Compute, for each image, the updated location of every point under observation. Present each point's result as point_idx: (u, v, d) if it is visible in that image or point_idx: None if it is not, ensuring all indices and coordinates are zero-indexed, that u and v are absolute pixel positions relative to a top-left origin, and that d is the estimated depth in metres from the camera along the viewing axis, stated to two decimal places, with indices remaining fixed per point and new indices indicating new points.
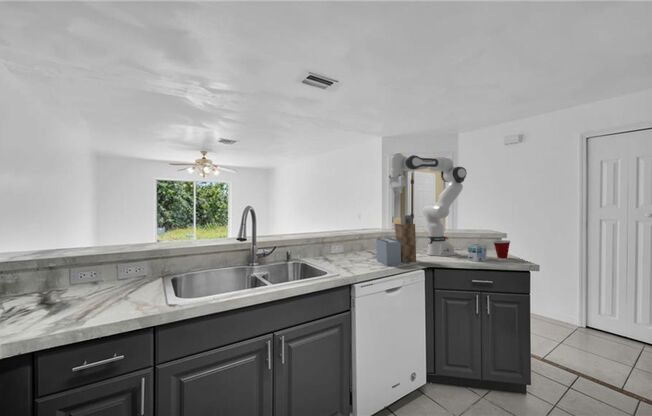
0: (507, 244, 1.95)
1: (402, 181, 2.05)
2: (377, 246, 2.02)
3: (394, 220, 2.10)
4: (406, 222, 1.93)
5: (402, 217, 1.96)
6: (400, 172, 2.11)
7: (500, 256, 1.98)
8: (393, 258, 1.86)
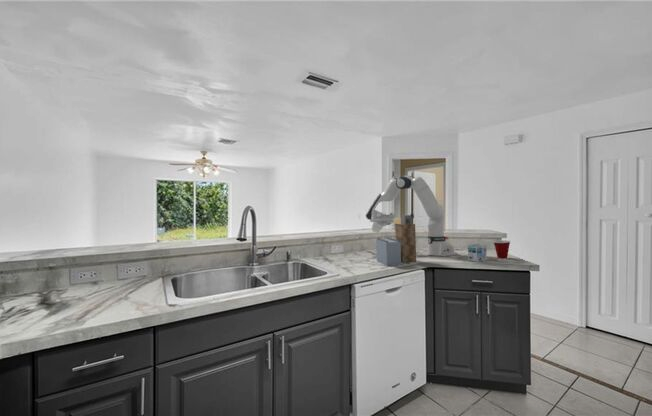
0: (507, 244, 1.95)
1: (372, 219, 2.34)
2: (377, 246, 2.02)
3: (394, 220, 2.10)
4: (406, 222, 1.93)
5: (402, 217, 1.96)
6: (375, 221, 2.42)
7: (500, 256, 1.98)
8: (393, 258, 1.86)
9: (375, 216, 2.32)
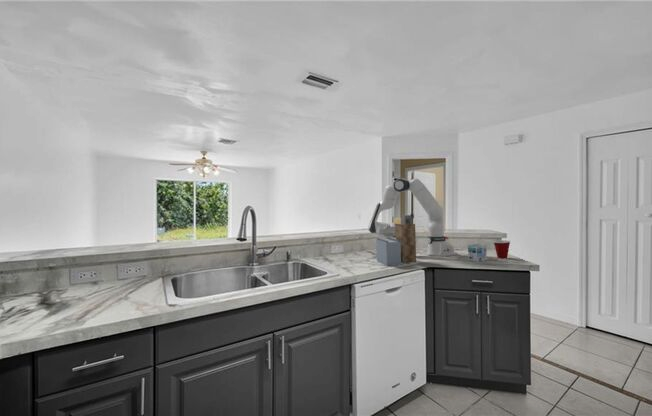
0: (507, 244, 1.95)
1: (377, 232, 2.22)
2: (377, 246, 2.02)
3: (394, 220, 2.10)
4: (406, 222, 1.93)
5: (402, 217, 1.96)
6: None
7: (500, 256, 1.98)
8: (393, 258, 1.86)
9: (381, 228, 2.20)
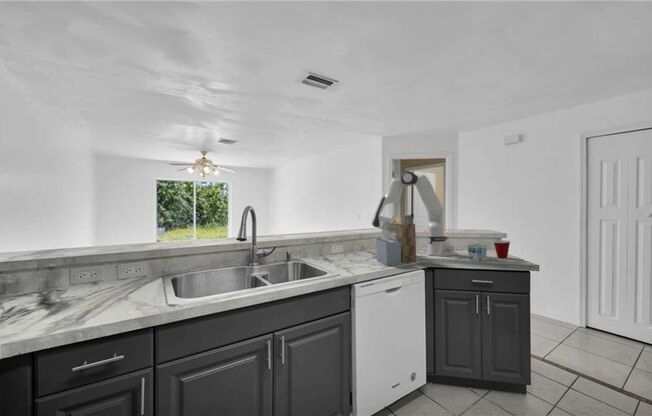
0: (507, 244, 1.95)
1: (381, 226, 2.15)
2: (377, 246, 2.02)
3: None
4: (406, 222, 1.93)
5: (402, 217, 1.96)
6: (384, 228, 2.22)
7: (500, 256, 1.98)
8: (393, 258, 1.86)
9: (385, 223, 2.12)
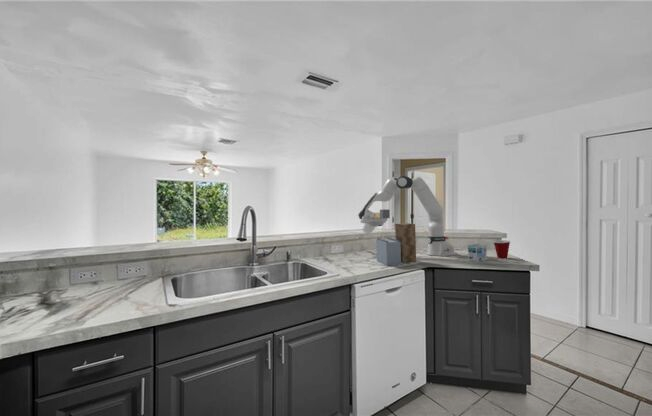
0: (507, 244, 1.95)
1: (362, 220, 2.22)
2: (377, 246, 2.02)
3: None
4: (384, 216, 2.00)
5: (381, 211, 2.03)
6: (366, 222, 2.30)
7: (500, 256, 1.98)
8: (393, 258, 1.86)
9: (366, 217, 2.20)
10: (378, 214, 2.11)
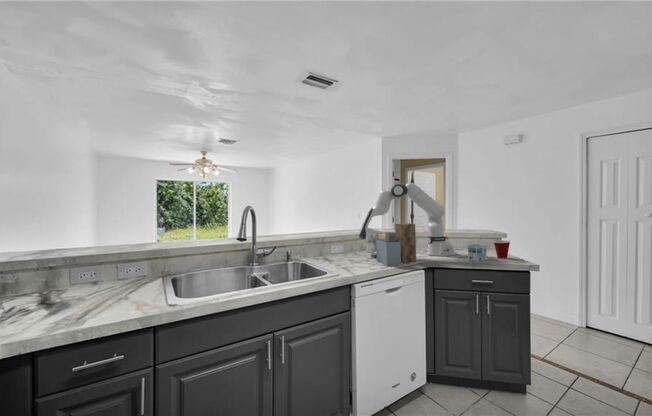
0: (507, 244, 1.95)
1: (366, 239, 2.09)
2: (377, 246, 2.02)
3: (379, 236, 2.05)
4: (390, 240, 1.87)
5: (386, 234, 1.90)
6: None
7: (500, 256, 1.98)
8: (393, 258, 1.86)
9: (370, 236, 2.07)
10: (383, 237, 1.98)
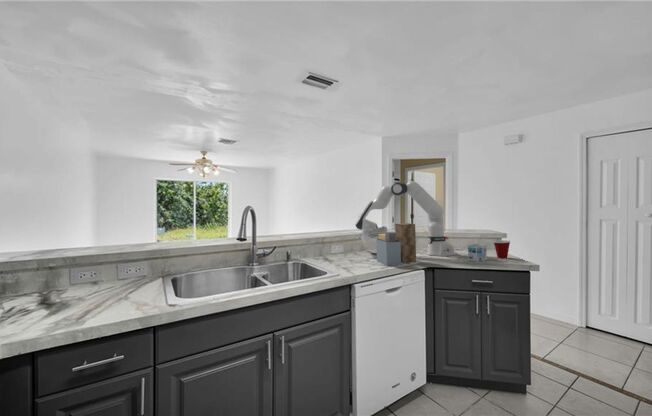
0: (507, 244, 1.95)
1: (362, 233, 2.20)
2: (377, 246, 2.02)
3: (379, 236, 2.05)
4: (390, 240, 1.87)
5: (386, 234, 1.90)
6: None
7: (500, 256, 1.98)
8: (393, 258, 1.86)
9: (366, 231, 2.18)
10: (383, 237, 1.98)
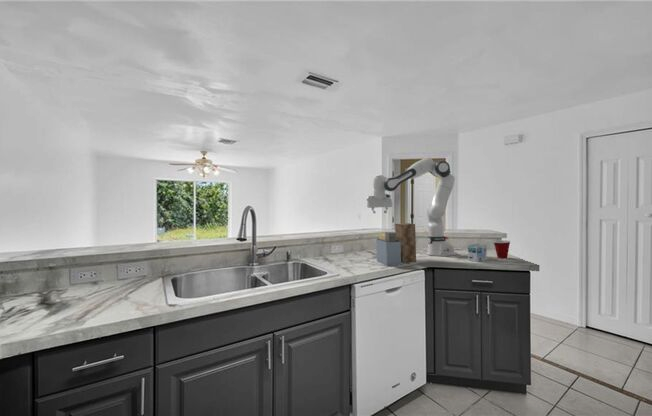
0: (507, 244, 1.95)
1: (367, 203, 2.26)
2: (377, 246, 2.02)
3: (379, 236, 2.05)
4: (390, 240, 1.87)
5: (386, 234, 1.90)
6: (374, 194, 2.25)
7: (500, 256, 1.98)
8: (393, 258, 1.86)
9: (370, 207, 2.25)
10: (383, 237, 1.98)
